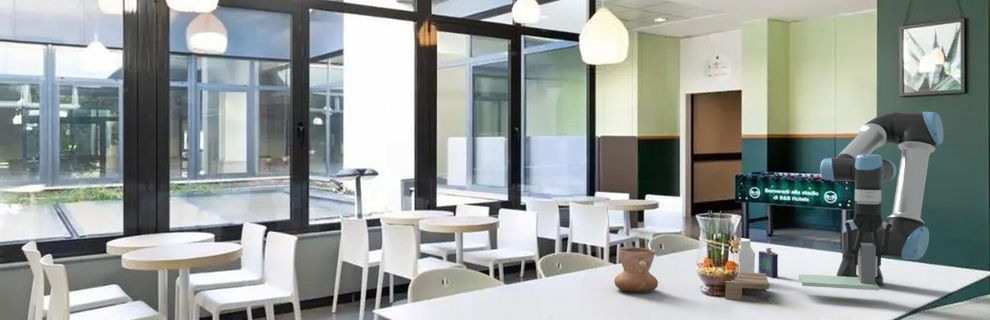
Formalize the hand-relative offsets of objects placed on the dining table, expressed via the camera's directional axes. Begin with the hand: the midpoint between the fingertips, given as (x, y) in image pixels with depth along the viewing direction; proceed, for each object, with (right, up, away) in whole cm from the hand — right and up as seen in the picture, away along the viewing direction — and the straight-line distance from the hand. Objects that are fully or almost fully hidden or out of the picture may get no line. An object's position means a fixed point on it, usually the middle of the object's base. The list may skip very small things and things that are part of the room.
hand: (866, 275), depth 226 cm
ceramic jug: (-71, -8, +13) cm, 73 cm away
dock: (-35, -8, +10) cm, 37 cm away
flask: (-15, -7, +42) cm, 45 cm away
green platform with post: (-8, -3, +3) cm, 9 cm away
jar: (-30, -7, +33) cm, 45 cm away
